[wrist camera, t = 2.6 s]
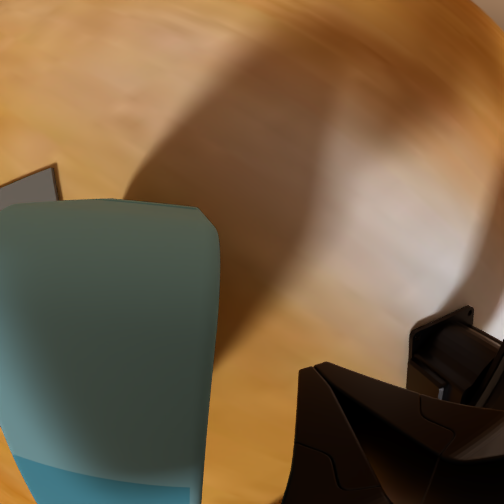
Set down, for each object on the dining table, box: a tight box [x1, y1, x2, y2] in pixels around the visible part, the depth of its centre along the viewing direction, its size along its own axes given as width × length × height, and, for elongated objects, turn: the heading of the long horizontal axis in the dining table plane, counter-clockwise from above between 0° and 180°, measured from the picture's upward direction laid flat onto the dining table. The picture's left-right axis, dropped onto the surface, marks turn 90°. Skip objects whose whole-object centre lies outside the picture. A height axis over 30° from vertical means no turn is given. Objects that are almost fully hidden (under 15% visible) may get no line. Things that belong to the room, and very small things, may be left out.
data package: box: [0, 199, 220, 504], centre depth 10 cm, size 12×4×12 cm, turn 172°
